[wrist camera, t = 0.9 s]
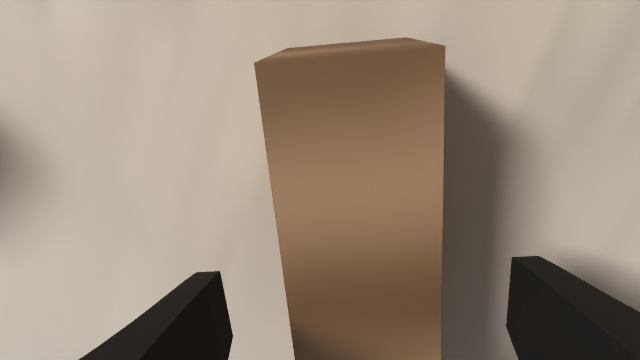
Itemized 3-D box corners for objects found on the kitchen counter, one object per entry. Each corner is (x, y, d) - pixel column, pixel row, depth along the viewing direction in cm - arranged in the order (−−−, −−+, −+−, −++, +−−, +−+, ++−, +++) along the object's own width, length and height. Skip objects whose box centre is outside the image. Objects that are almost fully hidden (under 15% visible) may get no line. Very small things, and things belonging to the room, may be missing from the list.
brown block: (411, 377, 17) (438, 515, 12) (323, 379, 17) (316, 515, 12) (406, 37, 12) (445, 46, 8) (287, 48, 13) (254, 63, 8)
